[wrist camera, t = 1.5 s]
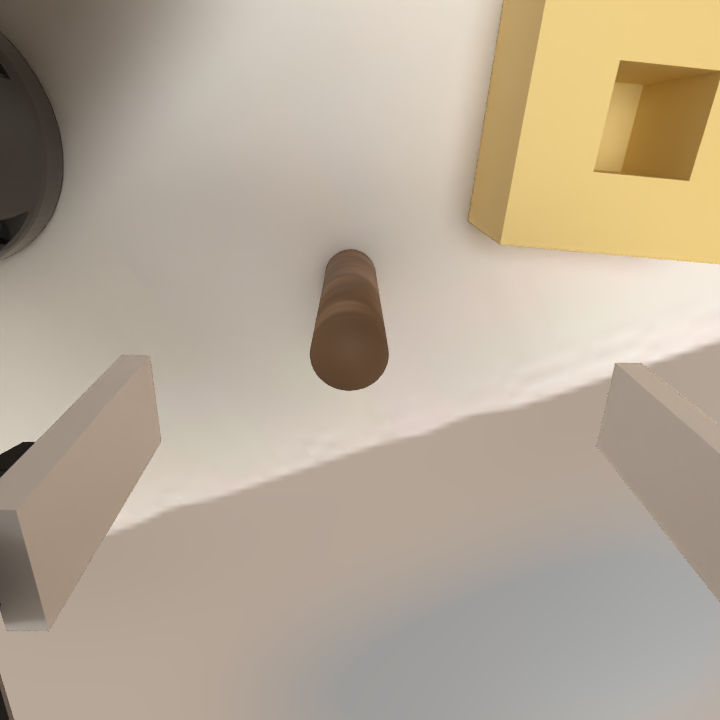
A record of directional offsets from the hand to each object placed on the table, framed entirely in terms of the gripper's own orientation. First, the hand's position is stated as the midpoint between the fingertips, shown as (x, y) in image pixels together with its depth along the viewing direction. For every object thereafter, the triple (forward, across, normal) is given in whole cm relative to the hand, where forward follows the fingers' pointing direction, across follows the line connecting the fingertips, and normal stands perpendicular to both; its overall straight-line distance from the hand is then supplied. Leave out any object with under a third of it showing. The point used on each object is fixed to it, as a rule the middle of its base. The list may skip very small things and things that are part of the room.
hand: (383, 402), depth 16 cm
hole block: (+21, +13, +8) cm, 25 cm away
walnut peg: (+21, -1, -2) cm, 21 cm away
